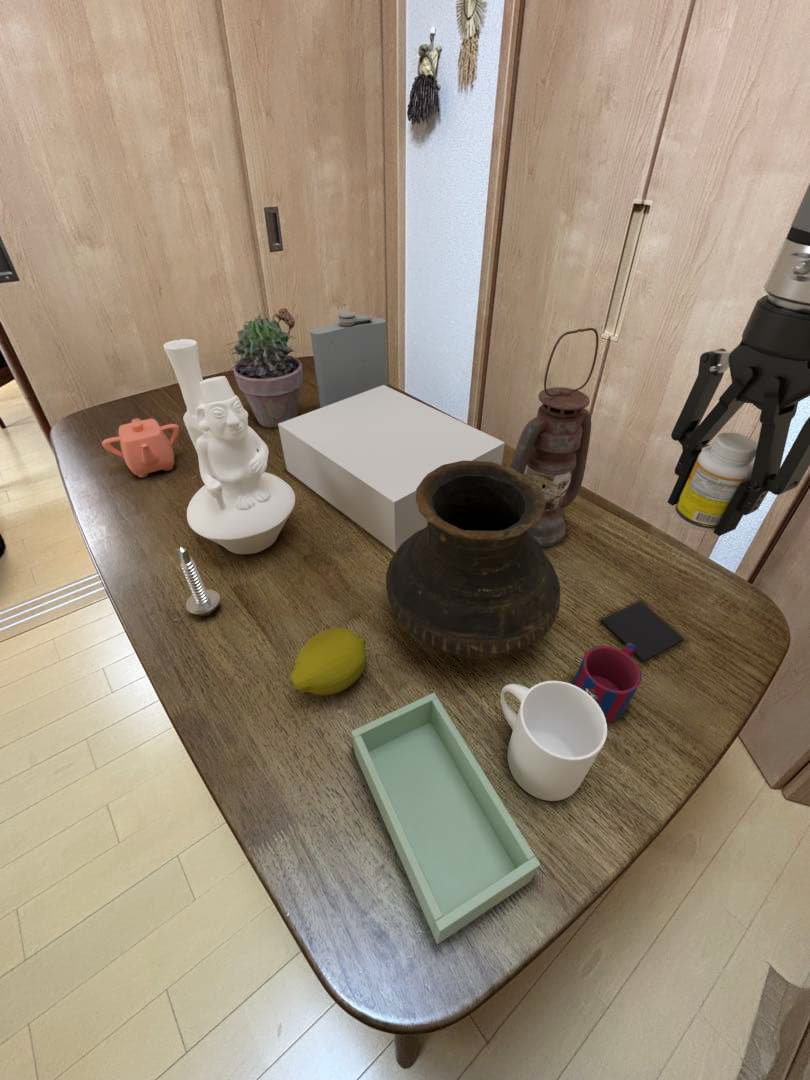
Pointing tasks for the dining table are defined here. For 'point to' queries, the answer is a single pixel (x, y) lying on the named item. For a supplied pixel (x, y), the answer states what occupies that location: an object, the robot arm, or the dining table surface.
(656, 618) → the coaster
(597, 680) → the cup
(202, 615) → the screw
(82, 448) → the dining table surface
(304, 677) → the lemon
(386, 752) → the bin
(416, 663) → the dining table surface
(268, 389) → the potted plant
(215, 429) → the white sculpted figure
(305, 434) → the box
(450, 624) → the ceramic pot
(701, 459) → the supplement bottle
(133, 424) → the teapot
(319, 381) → the flask
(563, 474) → the lantern
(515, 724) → the mug
